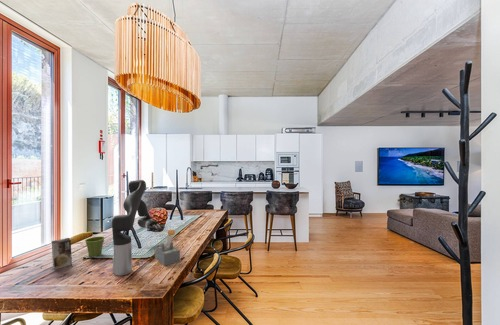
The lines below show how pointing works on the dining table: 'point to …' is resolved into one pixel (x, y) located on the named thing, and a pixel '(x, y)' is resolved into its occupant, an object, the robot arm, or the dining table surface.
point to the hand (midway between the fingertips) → (160, 230)
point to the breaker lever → (169, 238)
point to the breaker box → (167, 254)
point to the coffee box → (61, 253)
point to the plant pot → (94, 245)
